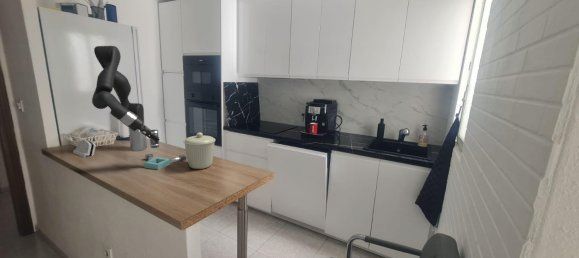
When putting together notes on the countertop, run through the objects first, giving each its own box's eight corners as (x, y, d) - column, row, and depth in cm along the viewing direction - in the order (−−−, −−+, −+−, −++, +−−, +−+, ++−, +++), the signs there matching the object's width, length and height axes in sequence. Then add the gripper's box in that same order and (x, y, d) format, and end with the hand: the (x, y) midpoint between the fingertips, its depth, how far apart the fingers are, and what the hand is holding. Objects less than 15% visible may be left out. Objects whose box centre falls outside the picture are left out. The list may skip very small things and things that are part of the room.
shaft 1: (158, 162, 147) (157, 158, 147) (151, 164, 145) (150, 159, 144) (151, 157, 156) (151, 153, 155) (144, 159, 153) (144, 154, 152)
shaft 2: (167, 164, 145) (166, 160, 144) (164, 162, 148) (164, 158, 147) (187, 160, 154) (186, 155, 153) (184, 158, 156) (184, 154, 156)
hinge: (72, 152, 158) (76, 138, 159) (81, 153, 163) (85, 139, 164) (84, 157, 151) (88, 142, 152) (93, 158, 155) (97, 143, 156)
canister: (206, 173, 135) (205, 137, 130) (177, 169, 138) (175, 134, 134) (221, 162, 152) (220, 130, 148) (195, 159, 156) (194, 128, 151)
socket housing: (156, 161, 149) (156, 157, 148) (170, 163, 147) (170, 159, 146) (143, 167, 139) (143, 162, 139) (158, 169, 137) (157, 164, 136)
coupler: (154, 145, 143) (153, 129, 141) (161, 146, 142) (160, 129, 140) (148, 147, 138) (147, 130, 136) (155, 148, 137) (153, 131, 135)
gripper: (136, 118, 126) (163, 137, 135) (137, 114, 138) (162, 132, 147) (125, 128, 125) (153, 147, 134) (127, 123, 137) (153, 141, 145)
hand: (158, 139), depth 140 cm, fingers closed on coupler, 4 cm apart
